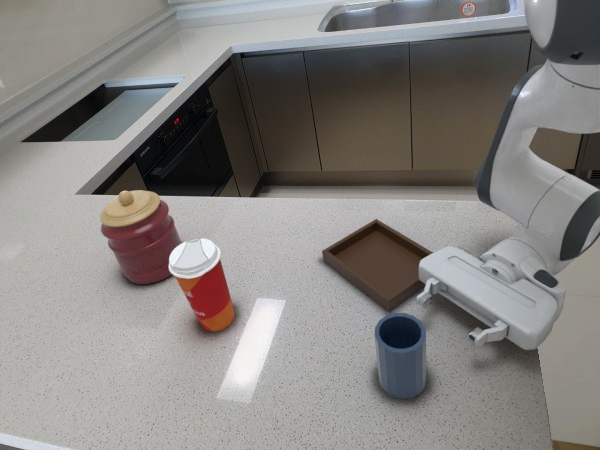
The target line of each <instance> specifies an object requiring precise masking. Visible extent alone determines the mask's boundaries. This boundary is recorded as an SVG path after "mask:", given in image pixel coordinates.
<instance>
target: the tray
mask: <svg viewBox="0 0 600 450" xmlns="http://www.w3.org/2000/svg"><path fill="white" fill-rule="evenodd" d="M432 253H434V252H433V251H431V250H429V249H428V248H426V247H424V246H423V245H421V244H419V243H418V242H416V241H414V240H413V239H411V238H409V237H408V236H406V235H404V234H403V233H401V232H399V231H398V230H396V229H394V228H392V227H391V226H389V225H388V224H386V223H384V222H382V221H381V220H379V219H378V218H375V219H373V220H371V221H370V222H368V223H367V224H365V225H363V226H362V227H360V228H358V229H357V230H355V231H353V232H352V233H350V234H348V235H347V236H345V237H343V238H341V239H340V240H338V241H336V242H334V243H333V244H331V245H330V246H328V247H326V248H324V249H323V250H321V255H322V259H323V262H324V263H325V264H327V266H330V267H331V268H332V269H333V270H335V271H336V272H337V273H338V274H339V275H341V276H342V277H343V278H345V279H346V280H347V281H349V282H350V283H351V284H352V285H354V286H355V287H356V288H357V289H359V290H360V291H361V292H363V293H364V294H365V295H366V296H368V297H369V298H370V299H371V300H373V301H374V302H375V303H377V304H378V305H379V306H380V307H382V308H383V309H384V310H386V311H387V312H389V313H390V312H391V311H392V310H394V309H395V308H396V307H398V306H400V305H401V304H402V303H404V302H405V301H406V300H408V299H409V298H410V297H412V296H414V295H415V294H416V293H418V292H419V291H421V290H422V289H424V288H425V286H426V284H425V283H423V282H422V281H420V279H419V271H418V270H419V262H420V261H421V260H422V259H423V258H425V257H427V256H429V255H430V254H432Z"/></svg>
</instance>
